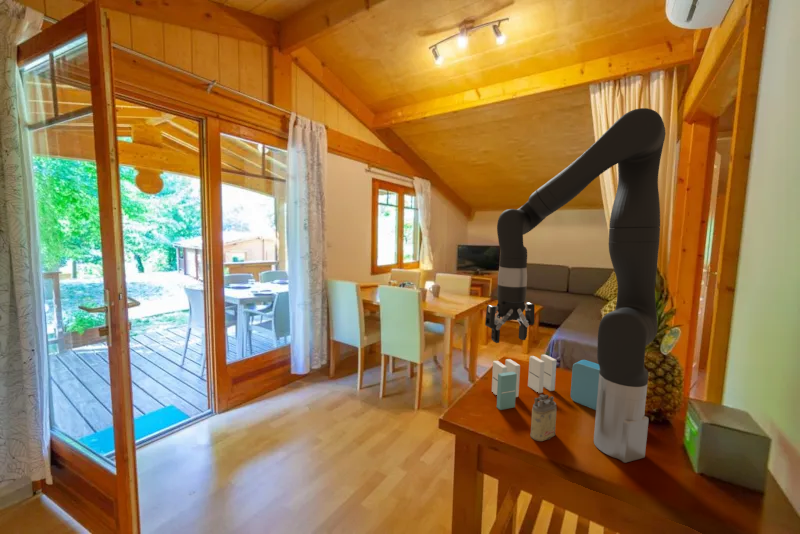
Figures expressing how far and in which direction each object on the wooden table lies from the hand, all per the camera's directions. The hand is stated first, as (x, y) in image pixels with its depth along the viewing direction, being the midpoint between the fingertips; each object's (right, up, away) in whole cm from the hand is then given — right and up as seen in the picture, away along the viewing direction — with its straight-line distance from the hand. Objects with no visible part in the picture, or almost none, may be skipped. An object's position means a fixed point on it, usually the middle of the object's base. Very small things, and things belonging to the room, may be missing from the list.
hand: (509, 340), depth 94 cm
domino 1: (0, -19, +9) cm, 21 cm away
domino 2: (+4, -19, +10) cm, 22 cm away
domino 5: (+17, -18, +15) cm, 29 cm away
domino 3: (0, -20, +2) cm, 20 cm away
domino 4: (+13, -18, +13) cm, 26 cm away
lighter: (+5, -21, -11) cm, 24 cm away
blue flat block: (+26, -20, +3) cm, 33 cm away
